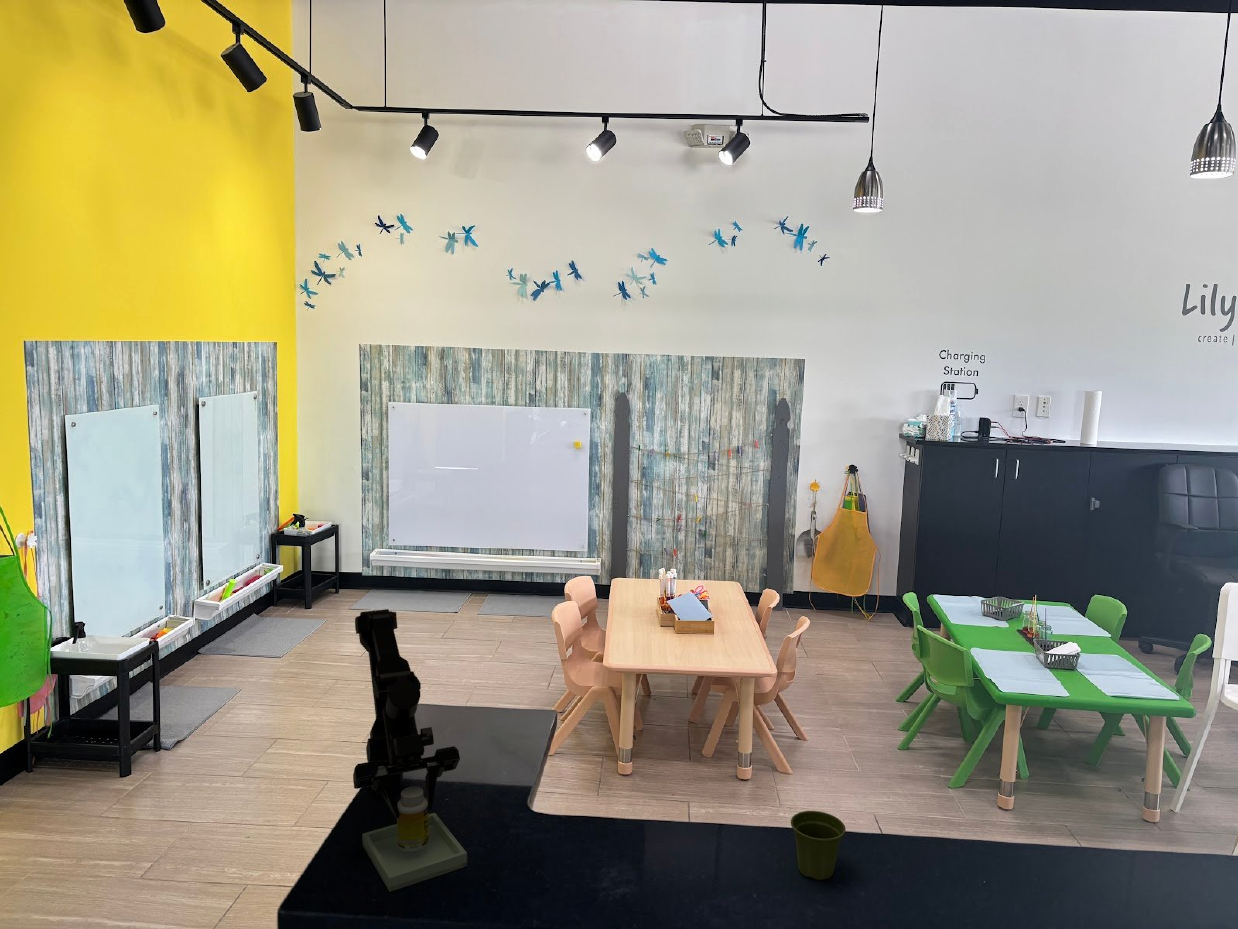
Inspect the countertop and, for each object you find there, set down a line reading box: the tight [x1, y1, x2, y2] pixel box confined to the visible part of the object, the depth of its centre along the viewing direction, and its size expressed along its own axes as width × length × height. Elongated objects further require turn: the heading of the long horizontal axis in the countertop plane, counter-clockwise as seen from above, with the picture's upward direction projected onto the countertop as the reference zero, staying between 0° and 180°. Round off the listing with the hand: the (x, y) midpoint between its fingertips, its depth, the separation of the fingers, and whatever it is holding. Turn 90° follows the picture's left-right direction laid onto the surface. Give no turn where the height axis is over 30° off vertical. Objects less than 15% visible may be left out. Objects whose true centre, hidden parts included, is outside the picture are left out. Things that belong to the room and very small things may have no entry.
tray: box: [362, 812, 468, 893], centre depth 155 cm, size 16×14×2 cm
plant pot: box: [790, 810, 847, 881], centre depth 151 cm, size 9×9×9 cm
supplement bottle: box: [396, 785, 429, 852], centre depth 155 cm, size 6×6×10 cm
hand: (414, 814), depth 153 cm, fingers closed on supplement bottle, 6 cm apart
